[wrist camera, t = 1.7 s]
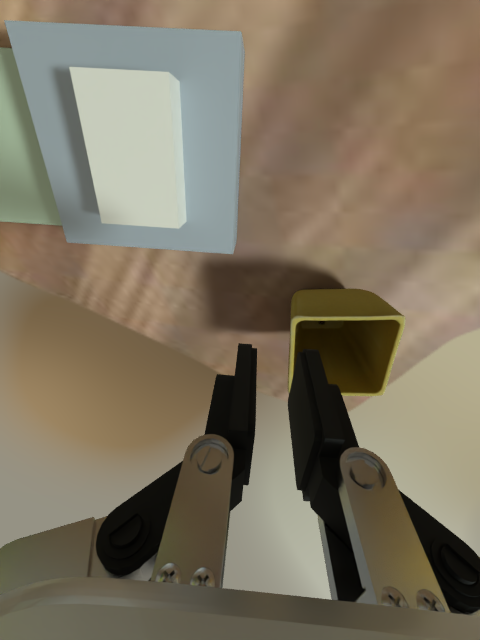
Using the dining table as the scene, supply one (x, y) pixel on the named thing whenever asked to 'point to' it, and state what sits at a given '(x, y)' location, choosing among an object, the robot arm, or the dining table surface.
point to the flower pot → (346, 337)
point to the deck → (196, 114)
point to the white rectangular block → (133, 144)
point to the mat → (21, 155)
